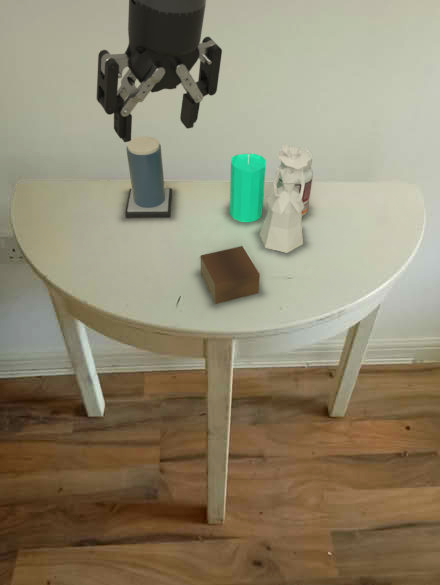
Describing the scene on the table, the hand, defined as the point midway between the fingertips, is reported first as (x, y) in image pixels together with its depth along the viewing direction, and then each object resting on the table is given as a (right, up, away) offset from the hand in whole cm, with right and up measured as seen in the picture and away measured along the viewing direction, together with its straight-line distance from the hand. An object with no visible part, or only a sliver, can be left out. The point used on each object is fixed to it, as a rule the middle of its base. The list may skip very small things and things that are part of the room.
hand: (156, 131), depth 62 cm
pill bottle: (+21, -5, +31) cm, 37 cm away
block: (+9, -18, +17) cm, 27 cm away
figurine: (+19, -11, +25) cm, 33 cm away
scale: (-5, -4, +32) cm, 32 cm away
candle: (+13, -5, +30) cm, 33 cm away
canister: (-5, -3, +31) cm, 31 cm away
